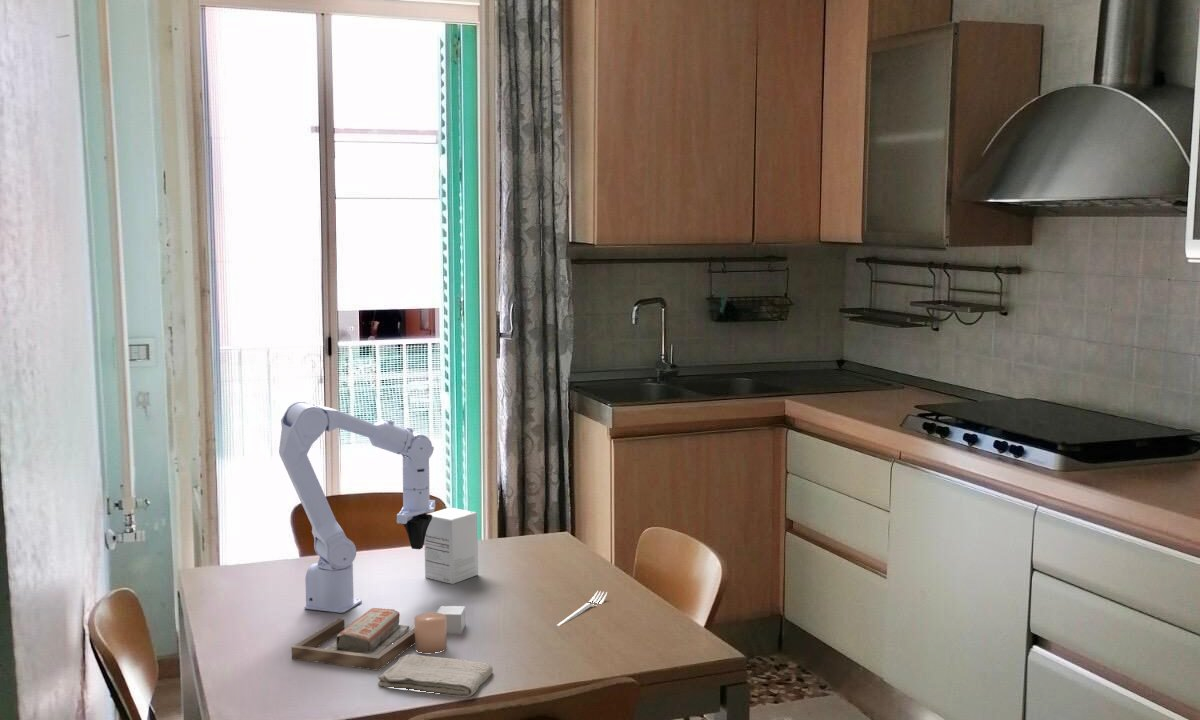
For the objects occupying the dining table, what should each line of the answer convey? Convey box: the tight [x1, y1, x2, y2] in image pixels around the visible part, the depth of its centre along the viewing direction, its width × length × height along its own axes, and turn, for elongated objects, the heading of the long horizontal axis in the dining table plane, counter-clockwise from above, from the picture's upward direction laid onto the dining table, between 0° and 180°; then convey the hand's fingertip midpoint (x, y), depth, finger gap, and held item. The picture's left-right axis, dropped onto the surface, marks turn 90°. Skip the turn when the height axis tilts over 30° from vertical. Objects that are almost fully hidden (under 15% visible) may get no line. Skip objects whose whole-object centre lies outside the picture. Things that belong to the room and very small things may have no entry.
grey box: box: [436, 605, 466, 634], centre depth 224 cm, size 5×5×4 cm
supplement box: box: [424, 507, 479, 585], centre depth 259 cm, size 9×9×15 cm
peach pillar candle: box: [414, 612, 448, 653], centre depth 214 cm, size 6×6×6 cm
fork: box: [556, 590, 608, 627], centre depth 235 cm, size 3×20×2 cm, turn 153°
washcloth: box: [377, 653, 494, 698], centre depth 198 cm, size 12×18×3 cm, turn 77°
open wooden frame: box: [291, 618, 415, 671], centre depth 213 cm, size 18×17×2 cm
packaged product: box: [326, 607, 410, 655], centre depth 217 cm, size 18×5×10 cm
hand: (417, 548), depth 247 cm, fingers closed
